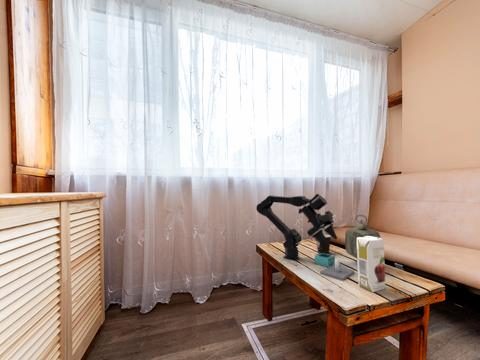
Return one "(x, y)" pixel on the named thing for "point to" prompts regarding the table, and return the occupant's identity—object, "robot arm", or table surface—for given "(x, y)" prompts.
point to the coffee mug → (323, 245)
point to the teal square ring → (325, 259)
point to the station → (337, 271)
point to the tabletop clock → (352, 236)
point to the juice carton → (371, 263)
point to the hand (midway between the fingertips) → (332, 241)
